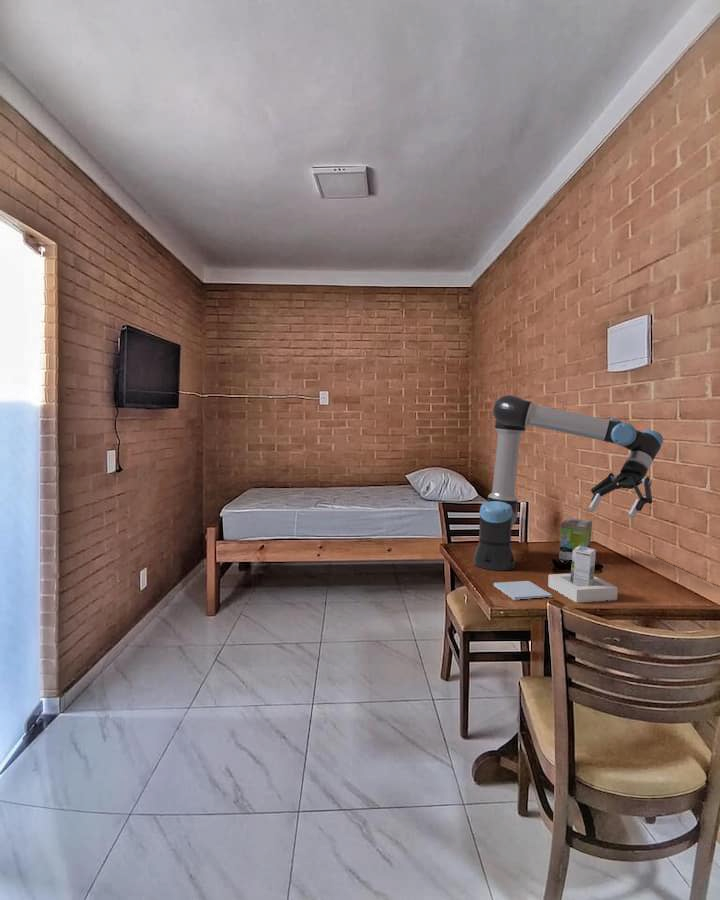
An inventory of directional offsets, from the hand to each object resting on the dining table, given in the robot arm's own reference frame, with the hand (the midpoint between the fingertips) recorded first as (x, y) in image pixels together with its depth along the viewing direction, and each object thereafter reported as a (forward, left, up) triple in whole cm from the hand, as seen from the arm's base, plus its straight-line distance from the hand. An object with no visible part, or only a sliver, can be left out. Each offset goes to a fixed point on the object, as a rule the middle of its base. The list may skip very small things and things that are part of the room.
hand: (610, 513), depth 163 cm
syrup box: (+5, -13, -25) cm, 29 cm away
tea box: (-32, +12, -25) cm, 42 cm away
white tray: (+5, -13, -25) cm, 29 cm away
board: (+1, -32, -25) cm, 41 cm away
